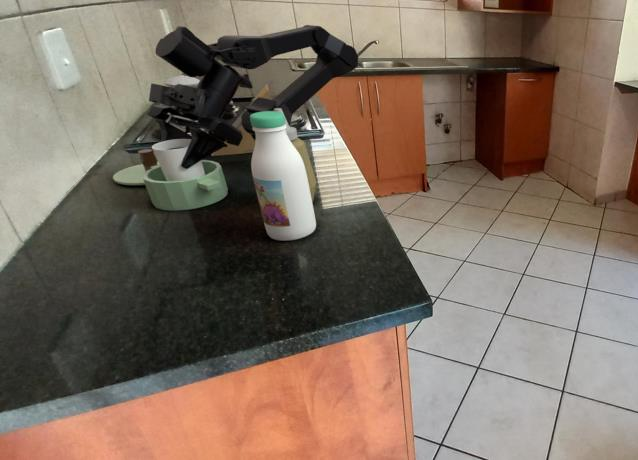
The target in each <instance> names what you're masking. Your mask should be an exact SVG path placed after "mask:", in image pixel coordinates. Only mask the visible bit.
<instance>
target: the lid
mask: <svg viewBox="0 0 638 460" xmlns="http://www.w3.org/2000/svg"><path fill="white" fill-rule="evenodd" d="M137 154H138V157H139V159H140V162H141V164H136V165H133V166H129V167H126V168H123V169H121V170H119V171H117V172H115V173H113V175H112V180H113V181H114V182H115V184H119V185H125V186H146V185H145V183H144V180H143V177H142V175H143V174H144V173H145V172H146V171H147V170H150V169H151V167H153V166H156V165H160V164H159V162H158V160H157V158H156V155H155V153H154V151H153V149H151V148H145V149H140V150H138V151H137Z"/></svg>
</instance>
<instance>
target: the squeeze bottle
mask: <svg viewBox="0 0 638 460" xmlns="http://www.w3.org/2000/svg"><path fill="white" fill-rule="evenodd" d="M274 111H276V112H281V113H283V111H282V109H281V108H276V109H274ZM283 114H284V113H283ZM284 117H285V116H284ZM285 122H286V123H285V124H286V126H287V127H286V128H285V130H286V134H287V136H288V138H289V140H290V141H291V143H292V144H293V146H294V147H295V148H296V150H297V151H298V153H299V154H300V156H301V158H302V160H303V163H304V166H305V170H306V174H307V178H308V183H309V188H310V193H311V199H312V202H314V199H315V193H316V189H317V179H316V176H315V173H314V169H313V166H312V162H311V160H310V157H309V153H308V150H307V146H306V143H305V141H304V140H302V138H301V139H300V138H299V134H298V135H297V133H298V130H297V128H296V127H294V126H289V125H288V122H287V120H286V118H285Z"/></svg>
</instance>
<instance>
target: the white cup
mask: <svg viewBox="0 0 638 460" xmlns="http://www.w3.org/2000/svg"><path fill="white" fill-rule="evenodd" d="M191 140H192V139H174V140H167V141H163V142H161V141H160V142H157V143H154V144H153V145H151V148H152V150H153V153H154V155H155V158H156V161H157V162H159V164H160V167H161V169H162V171H163V173H164V176H165V178H166V180H167V181H181V180H187V179H192V178H197V177H200V176H204V175H205V172H204V169H203V165H202V161H199V162H198V163H196V164H195V165H193V166H191V167H190V168H188V169H185V168H183V167H181V164H182V161H183V158H184V156H185V153H186V151H187V149H188V147H189V144H190V142H191Z"/></svg>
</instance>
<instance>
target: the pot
mask: <svg viewBox="0 0 638 460" xmlns="http://www.w3.org/2000/svg"><path fill="white" fill-rule="evenodd" d="M201 161H202V165H203V169H204V172H205V175H204V176H200V177H197V178H192V179H187V180H181V181H167V180H166V178H165V176H164V173H163V171H162V169H161V167H160V165H156V166H153V167H151V169H150V170H147V171H146V172H145V173H144V174H143V175H142V177H143V180H144V183H145V185H144V186H145V188H146V190H147V193H148V196H149V197H150V201H151V203H152V205H153V207H154V208H156V209H159V210H163V211H173V212H174V211H189V210H194V209H199V208H203V207H207V206H210V205H213V204H215V203H217V202H220V201H221V200H223V199H225V197H227V196H228V194H229V188H228V185H227V181H226V178H225V174H224V171H223V168H222V165H221V164H220V162H217V161H214V160H208V159H202V160H201Z"/></svg>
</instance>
